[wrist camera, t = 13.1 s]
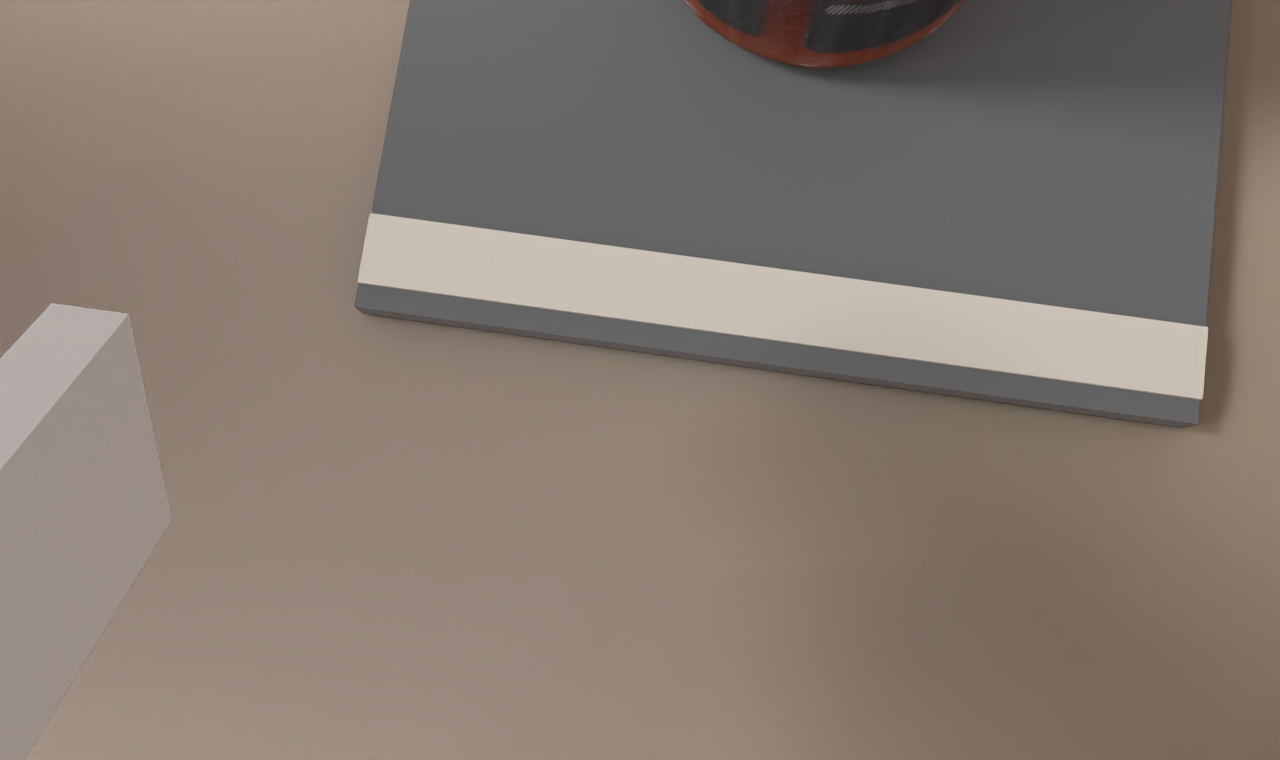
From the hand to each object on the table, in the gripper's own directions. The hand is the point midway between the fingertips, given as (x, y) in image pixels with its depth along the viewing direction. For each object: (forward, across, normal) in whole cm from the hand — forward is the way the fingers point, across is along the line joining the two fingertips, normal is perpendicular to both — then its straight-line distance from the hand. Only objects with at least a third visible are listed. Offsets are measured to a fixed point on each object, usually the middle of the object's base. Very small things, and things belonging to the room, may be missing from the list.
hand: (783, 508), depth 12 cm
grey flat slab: (+13, 0, +2) cm, 13 cm away
